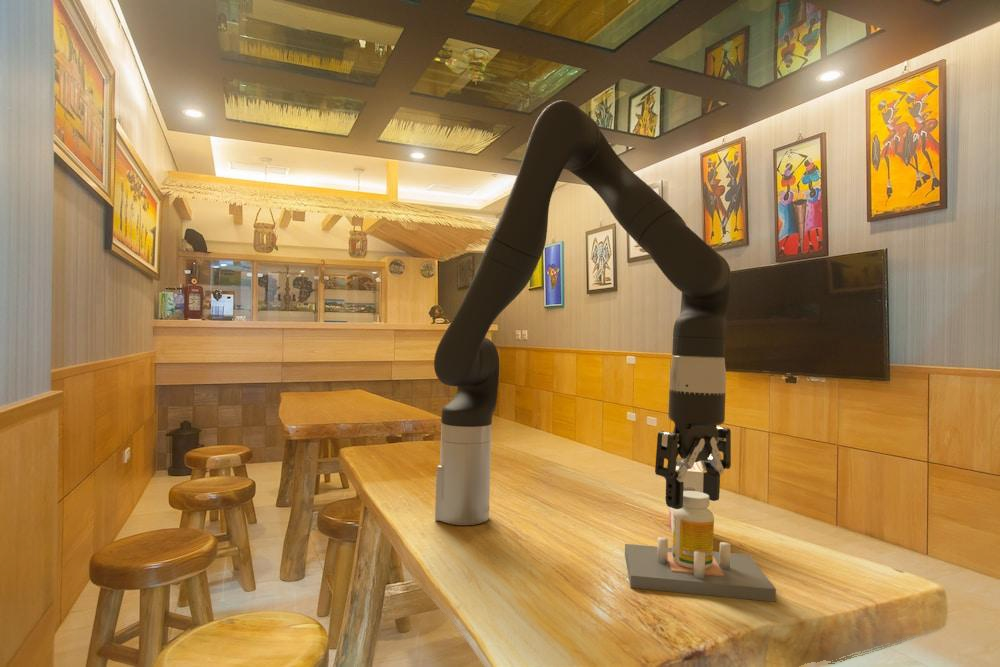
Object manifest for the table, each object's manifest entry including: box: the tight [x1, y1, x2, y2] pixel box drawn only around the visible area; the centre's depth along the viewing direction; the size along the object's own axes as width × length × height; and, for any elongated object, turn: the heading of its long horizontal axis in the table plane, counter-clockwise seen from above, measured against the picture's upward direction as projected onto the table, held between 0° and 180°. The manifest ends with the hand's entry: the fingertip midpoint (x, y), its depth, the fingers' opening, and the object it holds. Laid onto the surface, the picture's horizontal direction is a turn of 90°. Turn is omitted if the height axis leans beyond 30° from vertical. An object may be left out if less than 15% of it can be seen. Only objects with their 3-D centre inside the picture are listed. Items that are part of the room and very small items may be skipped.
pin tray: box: [624, 536, 777, 603], centre depth 77 cm, size 18×12×5 cm, turn 81°
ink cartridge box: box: [668, 461, 705, 535], centre depth 96 cm, size 9×5×15 cm, turn 168°
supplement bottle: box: [672, 491, 715, 569], centre depth 77 cm, size 5×5×10 cm
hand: (693, 503), depth 77 cm, fingers open, 8 cm apart
